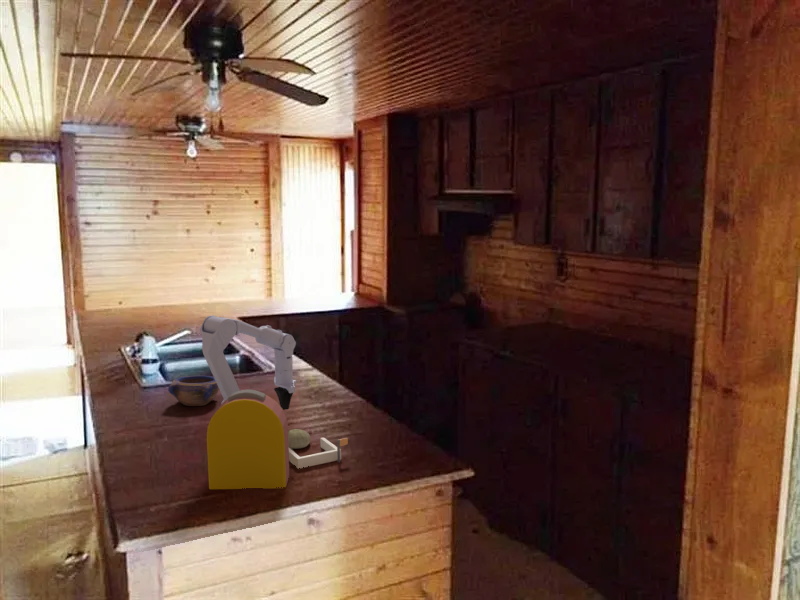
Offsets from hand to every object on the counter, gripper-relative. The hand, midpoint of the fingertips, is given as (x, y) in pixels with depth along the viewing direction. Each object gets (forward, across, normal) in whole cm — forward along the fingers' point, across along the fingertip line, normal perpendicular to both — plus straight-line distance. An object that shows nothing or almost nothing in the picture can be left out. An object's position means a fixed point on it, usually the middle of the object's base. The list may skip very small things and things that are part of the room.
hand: (284, 408), depth 224 cm
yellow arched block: (+10, -30, +22) cm, 38 cm away
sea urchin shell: (+10, -10, 0) cm, 14 cm away
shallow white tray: (+9, -23, -1) cm, 25 cm away
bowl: (+10, +52, +16) cm, 56 cm away
